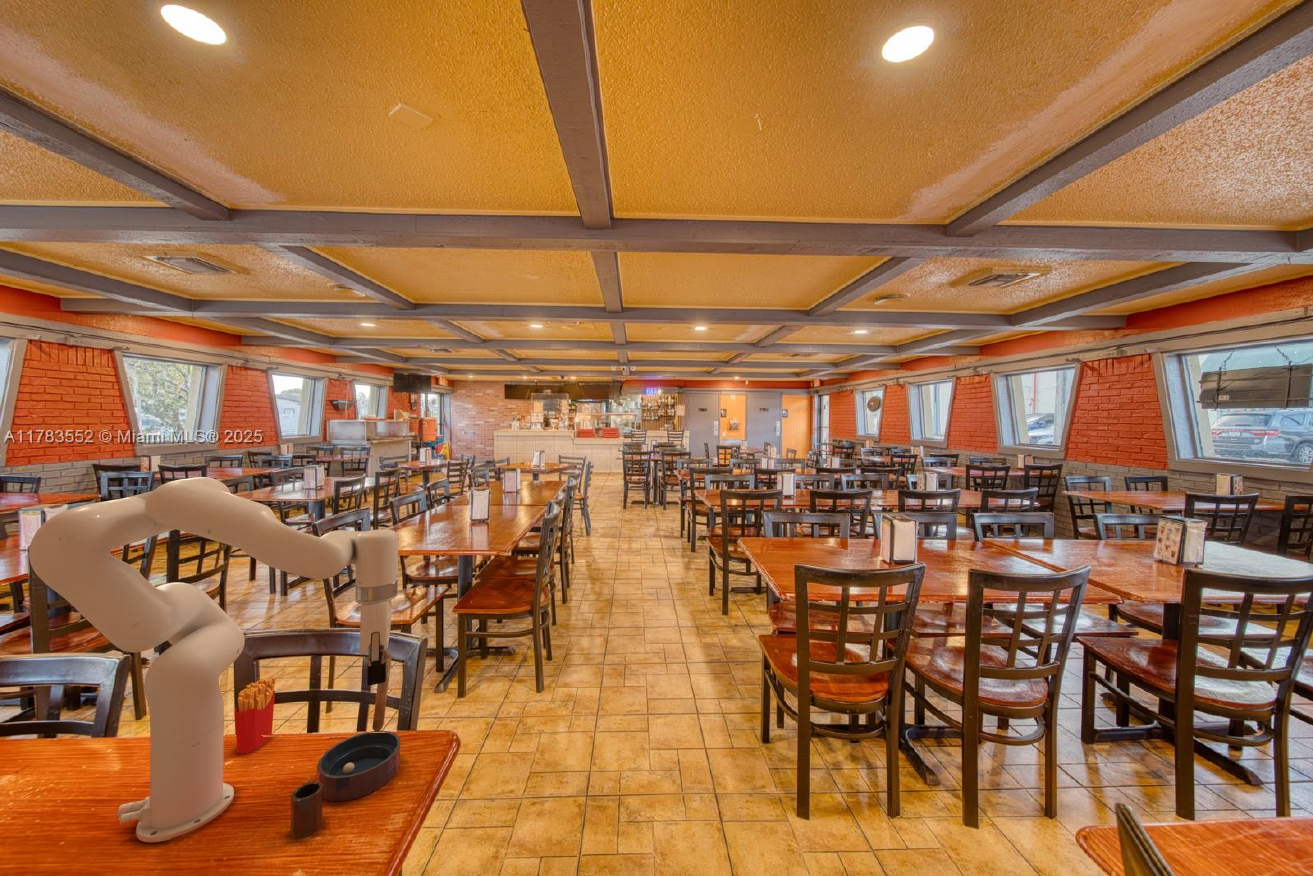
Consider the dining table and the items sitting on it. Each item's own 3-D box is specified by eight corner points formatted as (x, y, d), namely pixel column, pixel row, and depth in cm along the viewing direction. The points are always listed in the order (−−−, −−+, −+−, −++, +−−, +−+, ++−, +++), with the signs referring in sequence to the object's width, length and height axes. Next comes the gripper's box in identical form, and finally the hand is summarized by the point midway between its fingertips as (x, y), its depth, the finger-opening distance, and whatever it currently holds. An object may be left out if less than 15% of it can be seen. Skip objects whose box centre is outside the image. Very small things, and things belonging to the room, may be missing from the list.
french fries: (248, 756, 101) (249, 696, 101) (228, 756, 101) (229, 696, 101) (280, 730, 110) (281, 674, 110) (262, 730, 110) (262, 674, 110)
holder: (288, 845, 79) (288, 803, 79) (294, 826, 83) (294, 786, 83) (319, 835, 81) (320, 794, 81) (324, 817, 85) (324, 778, 85)
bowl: (310, 814, 85) (310, 787, 86) (323, 766, 98) (324, 742, 98) (399, 788, 92) (399, 763, 92) (401, 746, 105) (401, 724, 105)
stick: (371, 734, 95) (381, 654, 96) (372, 728, 97) (381, 650, 98) (382, 732, 96) (392, 653, 97) (383, 727, 98) (392, 649, 98)
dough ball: (341, 778, 94) (342, 768, 94) (343, 772, 96) (343, 762, 96) (353, 775, 95) (353, 765, 95) (354, 769, 97) (355, 759, 97)
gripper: (359, 583, 102) (359, 667, 102) (350, 606, 88) (350, 704, 88) (399, 578, 105) (399, 660, 105) (396, 600, 91) (396, 694, 91)
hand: (377, 679), depth 96 cm, fingers closed on stick, 2 cm apart
